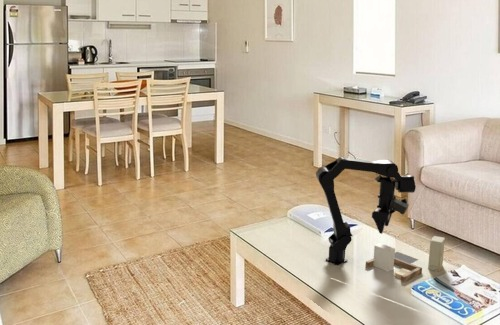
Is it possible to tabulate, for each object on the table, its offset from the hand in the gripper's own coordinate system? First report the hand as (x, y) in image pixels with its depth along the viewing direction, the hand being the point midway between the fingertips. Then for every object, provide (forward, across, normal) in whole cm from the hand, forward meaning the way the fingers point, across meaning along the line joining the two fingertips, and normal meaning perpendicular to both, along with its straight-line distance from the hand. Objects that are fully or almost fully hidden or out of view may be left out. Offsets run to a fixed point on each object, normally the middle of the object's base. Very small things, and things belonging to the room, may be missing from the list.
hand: (383, 229), depth 203 cm
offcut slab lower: (+14, -10, -11) cm, 20 cm away
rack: (+13, -7, -6) cm, 16 cm away
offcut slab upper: (+13, -10, -11) cm, 19 cm away
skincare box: (+13, +3, -20) cm, 25 cm away
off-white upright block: (+13, -7, -2) cm, 15 cm away
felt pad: (+13, +5, -7) cm, 16 cm away
